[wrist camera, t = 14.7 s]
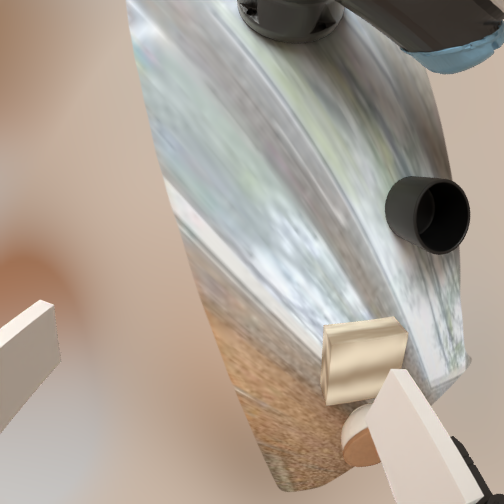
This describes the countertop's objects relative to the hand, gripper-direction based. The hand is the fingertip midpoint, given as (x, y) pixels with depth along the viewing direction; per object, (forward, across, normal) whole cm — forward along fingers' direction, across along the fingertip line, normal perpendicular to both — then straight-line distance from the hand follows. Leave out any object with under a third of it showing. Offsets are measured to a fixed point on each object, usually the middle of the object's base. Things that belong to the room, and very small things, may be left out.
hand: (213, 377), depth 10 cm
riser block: (+32, +22, -17) cm, 42 cm away
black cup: (+32, +25, +8) cm, 41 cm away
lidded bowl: (+32, +30, -32) cm, 54 cm away
